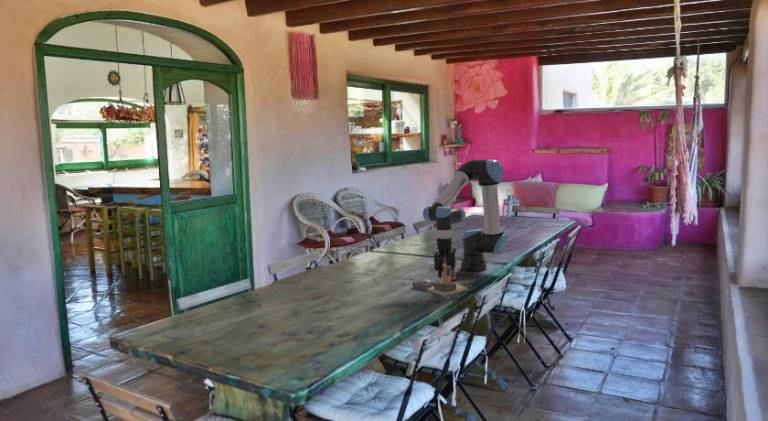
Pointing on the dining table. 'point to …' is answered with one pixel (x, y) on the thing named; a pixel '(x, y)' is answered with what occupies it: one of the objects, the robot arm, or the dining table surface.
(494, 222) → the robot arm
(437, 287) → the board
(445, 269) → the plug
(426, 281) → the grey domed square block
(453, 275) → the mug
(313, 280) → the dining table surface
